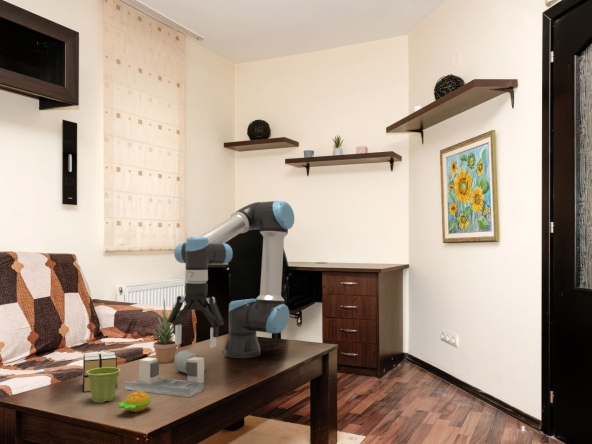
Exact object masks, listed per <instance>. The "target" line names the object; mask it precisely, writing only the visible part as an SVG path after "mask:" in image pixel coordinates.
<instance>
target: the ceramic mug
mask: <svg viewBox="0 0 592 444" xmlns="http://www.w3.org/2000/svg"><path fill="white" fill-rule="evenodd" d="M192 357H200V355H198V354H196V353H194V352H191V351H189V350H187V349H182V350H181V351H179V352H177V354H175V356H174V359H173V364H174V368H175V370H176V371H178V372H180V373H184V374H185V375H187V362H188V359H190V358H192ZM206 369H207V367H206V365H204V372H205V371H206Z"/></svg>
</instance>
